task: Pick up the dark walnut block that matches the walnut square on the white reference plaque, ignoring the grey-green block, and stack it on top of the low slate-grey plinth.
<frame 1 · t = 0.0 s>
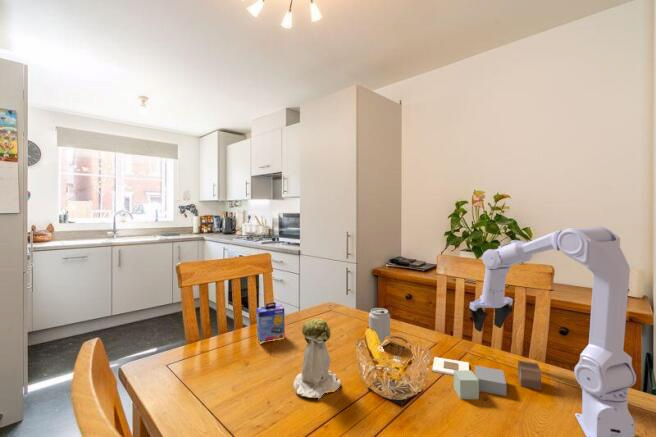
hand: (487, 328, 96), 11 cm above the table, tool pointing down, fingers open, 7 cm apart
grey statuette: (316, 386, 86), on the table
slate plinth: (489, 386, 84), on the table
grey-green block: (466, 393, 81), on the table
can: (379, 343, 111), on the table
walnut block: (529, 383, 85), on the table
reference plaque: (450, 367, 93), on the table
ink cartridge box: (271, 340, 116), on the table
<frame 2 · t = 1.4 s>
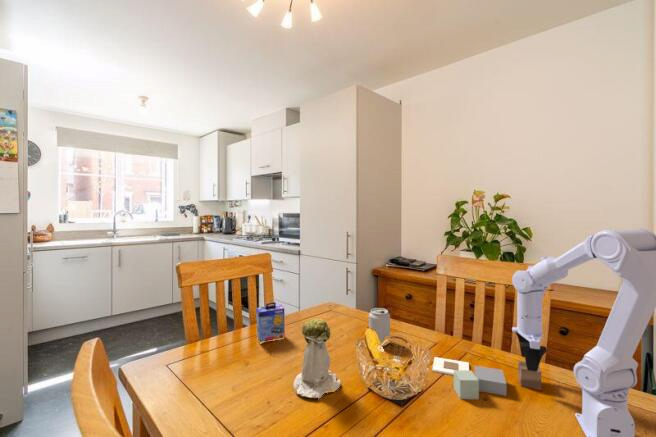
hand: (529, 363, 84), 6 cm above the table, tool pointing down, fingers open, 7 cm apart
nothing on the table moved.
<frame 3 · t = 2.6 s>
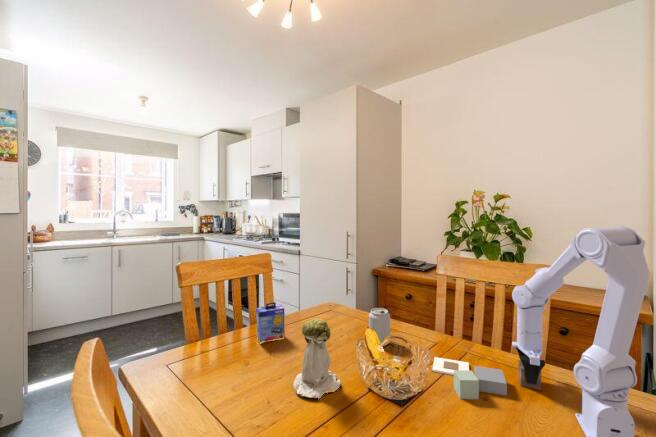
hand: (529, 378, 85), 1 cm above the table, tool pointing down, fingers closed on walnut block, 5 cm apart
walnut block: (529, 383, 85), on the table, touching gripper
everything else where it was.
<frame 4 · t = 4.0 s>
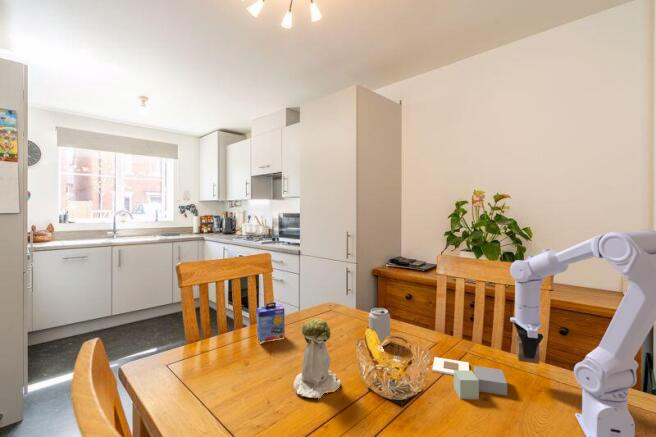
hand: (527, 353, 84), 8 cm above the table, tool pointing down, fingers closed on walnut block, 5 cm apart
walnut block: (527, 358, 84), point 7 cm above the table, touching gripper
everything else where it was.
when the fingers open (6 cm above the table, at t = 5.5 s): walnut block drops 1 cm, resting on slate plinth.
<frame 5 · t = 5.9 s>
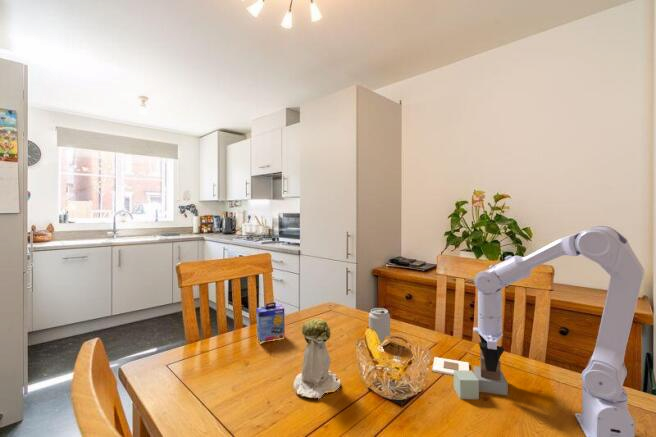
hand: (489, 363, 84), 6 cm above the table, tool pointing down, fingers open, 7 cm apart
slate plinth: (489, 386, 84), on the table, touching walnut block
walnut block: (489, 374, 84), point 3 cm above the table, touching slate plinth
everything else where it was.
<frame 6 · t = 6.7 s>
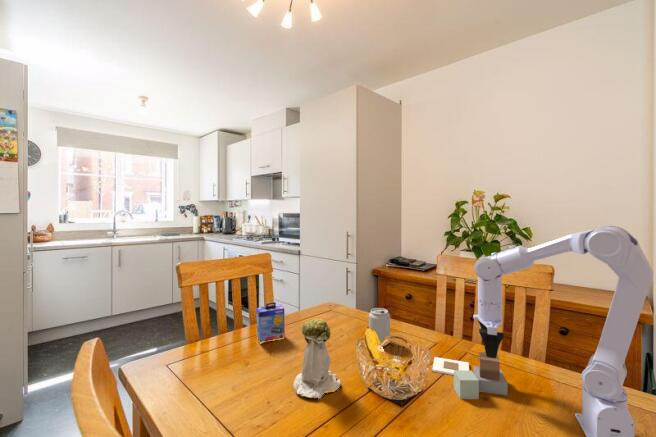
hand: (489, 350, 84), 10 cm above the table, tool pointing down, fingers open, 7 cm apart
nothing on the table moved.
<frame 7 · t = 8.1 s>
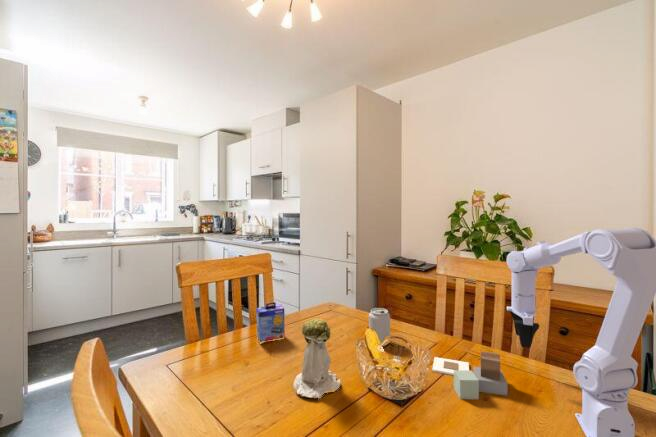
hand: (523, 340, 87), 10 cm above the table, tool pointing down, fingers open, 7 cm apart
nothing on the table moved.
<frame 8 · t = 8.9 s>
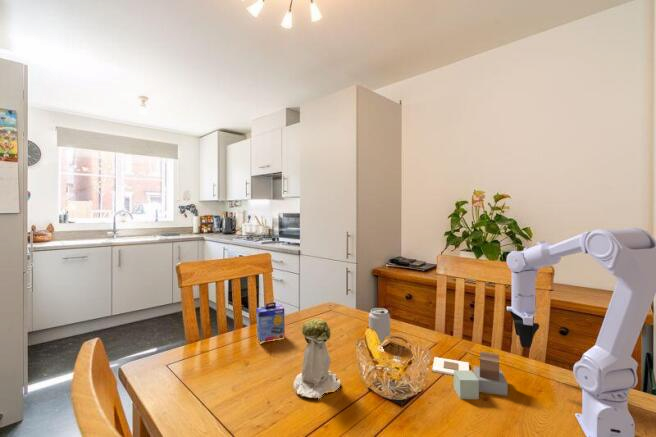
hand: (523, 340, 87), 10 cm above the table, tool pointing down, fingers open, 7 cm apart
nothing on the table moved.
at the end: walnut block 0.1 cm off-centre on the slate plinth, point 3.6 cm above the slate plinth's base; walnut block tilted 0°; the gripper is holding nothing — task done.
